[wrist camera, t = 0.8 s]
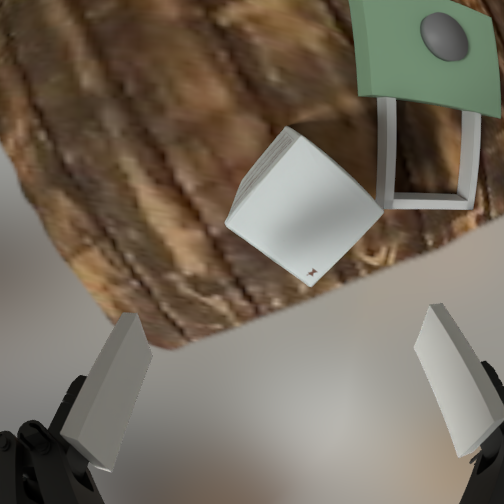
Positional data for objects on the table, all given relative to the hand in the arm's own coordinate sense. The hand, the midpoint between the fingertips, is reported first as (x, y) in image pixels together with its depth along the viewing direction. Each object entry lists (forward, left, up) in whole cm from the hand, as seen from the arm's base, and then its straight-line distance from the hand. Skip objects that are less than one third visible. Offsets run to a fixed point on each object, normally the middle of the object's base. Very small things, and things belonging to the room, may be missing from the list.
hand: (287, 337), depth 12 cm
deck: (-11, +17, -20) cm, 28 cm away
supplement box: (-3, +2, -20) cm, 20 cm away
